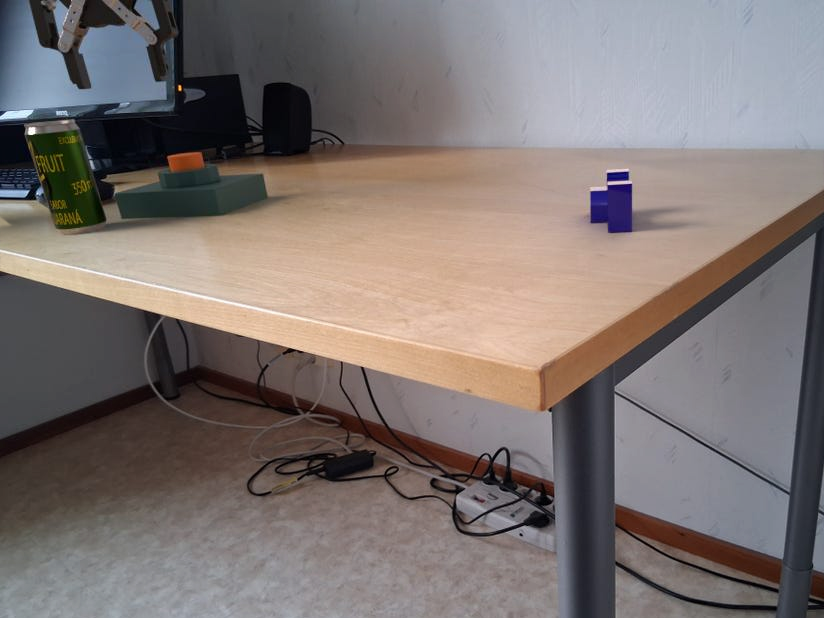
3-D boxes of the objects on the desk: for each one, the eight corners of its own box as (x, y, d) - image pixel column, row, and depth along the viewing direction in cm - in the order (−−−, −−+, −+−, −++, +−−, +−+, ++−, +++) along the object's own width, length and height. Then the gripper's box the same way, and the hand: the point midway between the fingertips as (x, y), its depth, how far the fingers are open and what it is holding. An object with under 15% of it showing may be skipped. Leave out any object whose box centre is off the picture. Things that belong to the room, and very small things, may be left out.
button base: (121, 219, 85) (109, 178, 83) (177, 201, 95) (168, 164, 93) (220, 216, 82) (210, 172, 80) (268, 198, 92) (260, 159, 90)
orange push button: (164, 174, 85) (160, 157, 85) (184, 169, 89) (180, 153, 88) (192, 173, 84) (188, 156, 84) (211, 168, 88) (207, 151, 87)
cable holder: (590, 213, 67) (590, 170, 65) (628, 211, 66) (628, 168, 64) (590, 233, 59) (589, 185, 58) (631, 231, 59) (632, 183, 57)
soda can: (76, 226, 83) (43, 121, 79) (118, 223, 83) (87, 117, 78) (46, 237, 78) (9, 126, 74) (91, 234, 78) (56, 122, 73)
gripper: (159, -79, 77) (195, 79, 83) (26, -68, 76) (73, 90, 82) (134, -93, 70) (176, 80, 76) (-11, -82, 69) (43, 92, 75)
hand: (123, 85), depth 79 cm, fingers open, 8 cm apart
